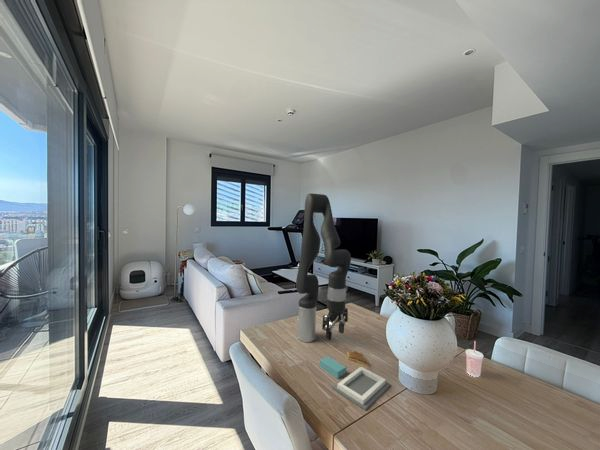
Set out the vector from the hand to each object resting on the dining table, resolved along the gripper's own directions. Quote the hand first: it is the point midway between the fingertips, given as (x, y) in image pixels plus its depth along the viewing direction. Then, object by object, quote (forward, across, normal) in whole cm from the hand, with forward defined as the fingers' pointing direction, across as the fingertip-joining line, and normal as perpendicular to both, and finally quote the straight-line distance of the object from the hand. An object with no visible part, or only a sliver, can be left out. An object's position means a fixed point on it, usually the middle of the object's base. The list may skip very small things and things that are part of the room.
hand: (335, 336), depth 103 cm
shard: (+15, -15, +3) cm, 22 cm away
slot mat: (+14, +1, +14) cm, 20 cm away
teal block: (+15, 0, 0) cm, 15 cm away
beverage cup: (+14, -41, +41) cm, 60 cm away
